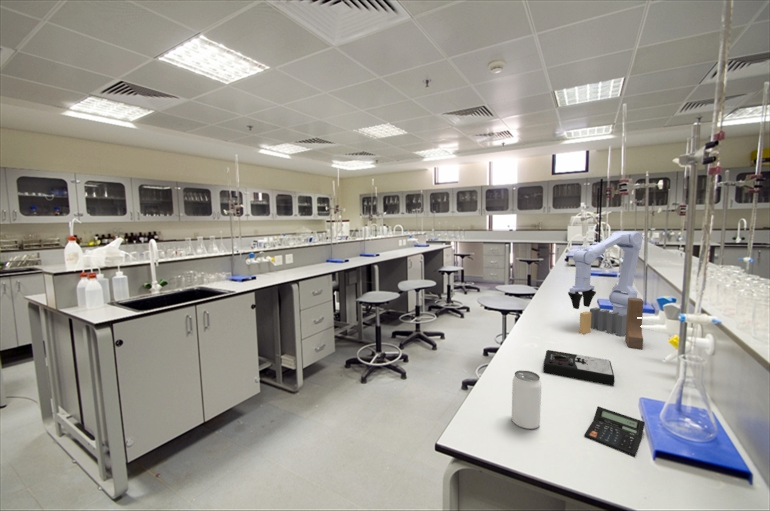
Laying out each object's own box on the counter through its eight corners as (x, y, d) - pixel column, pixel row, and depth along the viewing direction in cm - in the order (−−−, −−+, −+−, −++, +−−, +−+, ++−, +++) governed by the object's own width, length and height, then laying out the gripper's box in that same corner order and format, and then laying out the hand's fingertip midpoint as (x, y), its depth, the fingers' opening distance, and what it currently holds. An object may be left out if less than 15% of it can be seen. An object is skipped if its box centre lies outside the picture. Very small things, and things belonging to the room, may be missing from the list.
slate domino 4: (622, 333, 143) (623, 313, 142) (627, 334, 141) (628, 314, 140) (615, 335, 141) (617, 314, 140) (621, 336, 139) (622, 315, 138)
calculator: (584, 437, 75) (584, 425, 75) (597, 416, 83) (598, 405, 83) (634, 458, 69) (635, 444, 68) (644, 433, 77) (644, 421, 76)
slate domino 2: (603, 328, 150) (604, 309, 149) (608, 329, 148) (609, 310, 147) (597, 330, 148) (598, 310, 147) (602, 331, 146) (603, 311, 145)
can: (516, 411, 86) (517, 367, 84) (543, 420, 81) (544, 374, 80) (507, 423, 81) (508, 376, 79) (535, 433, 76) (537, 384, 75)
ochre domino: (585, 331, 147) (586, 311, 146) (590, 332, 145) (591, 312, 144) (579, 332, 144) (580, 312, 143) (583, 334, 143) (584, 314, 142)
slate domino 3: (612, 330, 146) (613, 311, 146) (617, 332, 145) (618, 312, 144) (606, 332, 144) (607, 312, 143) (611, 334, 143) (612, 313, 142)
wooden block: (642, 349, 125) (645, 303, 123) (628, 347, 127) (631, 302, 125) (638, 342, 133) (641, 298, 131) (625, 340, 135) (627, 297, 133)
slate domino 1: (595, 326, 153) (596, 307, 152) (599, 327, 151) (600, 308, 151) (589, 327, 151) (590, 308, 150) (593, 329, 149) (594, 309, 148)
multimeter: (545, 359, 119) (546, 345, 118) (610, 370, 109) (610, 355, 109) (542, 373, 107) (543, 359, 107) (614, 387, 98) (615, 371, 97)
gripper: (584, 274, 152) (582, 303, 154) (563, 277, 146) (562, 307, 147) (599, 277, 146) (598, 307, 147) (579, 279, 140) (577, 311, 141)
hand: (581, 307), depth 147 cm, fingers open, 7 cm apart
